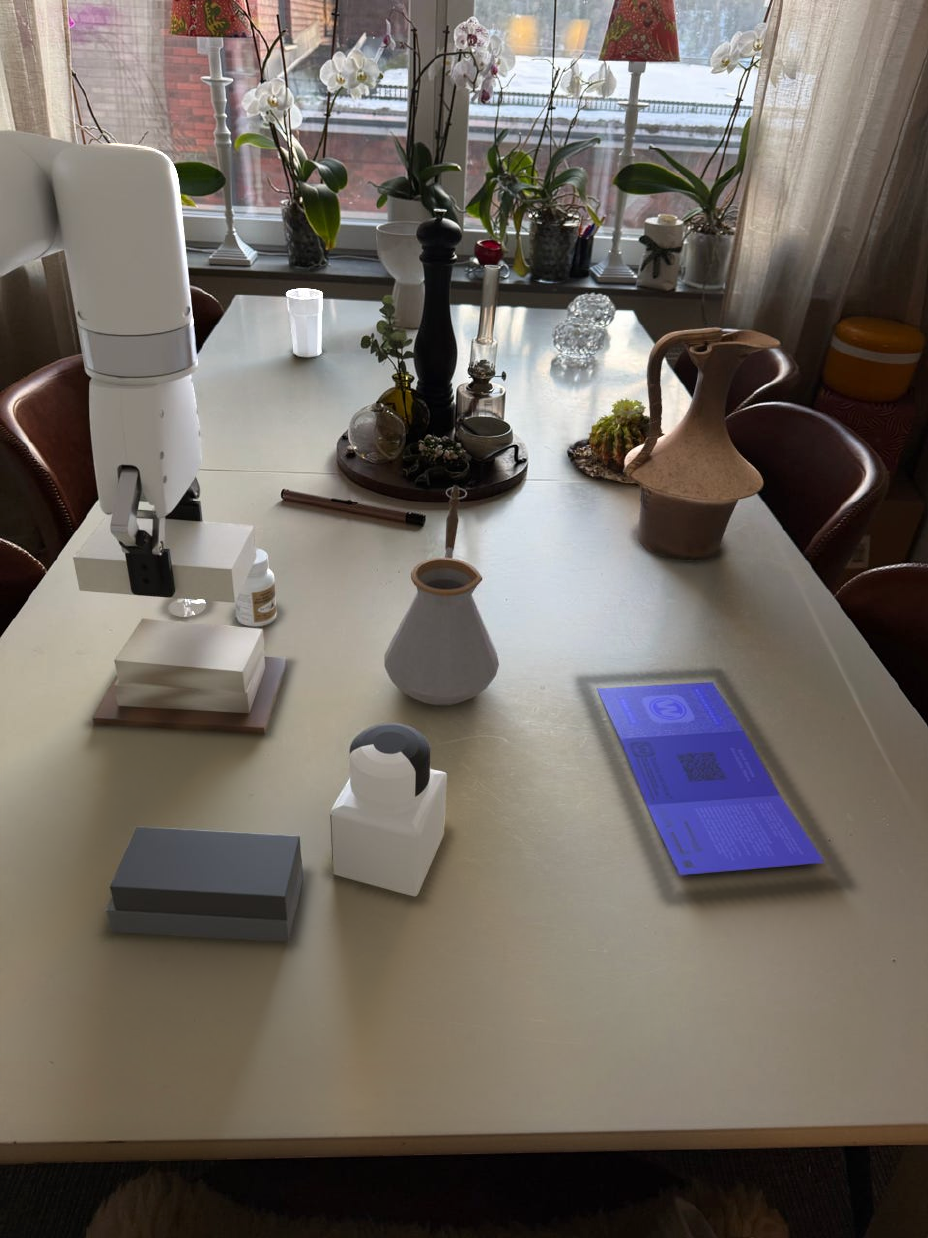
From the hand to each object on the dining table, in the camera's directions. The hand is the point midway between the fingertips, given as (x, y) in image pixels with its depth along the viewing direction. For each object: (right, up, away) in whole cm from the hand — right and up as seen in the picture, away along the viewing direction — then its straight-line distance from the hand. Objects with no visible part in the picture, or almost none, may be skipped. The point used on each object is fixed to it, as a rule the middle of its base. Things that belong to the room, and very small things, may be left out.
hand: (170, 566), depth 74 cm
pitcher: (+51, +6, +48) cm, 71 cm away
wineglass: (-7, -3, +30) cm, 31 cm away
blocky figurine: (+17, -23, +2) cm, 29 cm away
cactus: (+47, +19, +68) cm, 85 cm away
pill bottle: (0, -4, +29) cm, 30 cm away
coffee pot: (+21, -8, +25) cm, 34 cm away
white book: (0, -1, 0) cm, 1 cm away
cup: (-6, +46, +104) cm, 114 cm away
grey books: (+4, -26, -3) cm, 26 cm away
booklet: (+45, -18, +12) cm, 50 cm away
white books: (-3, -12, +18) cm, 21 cm away
